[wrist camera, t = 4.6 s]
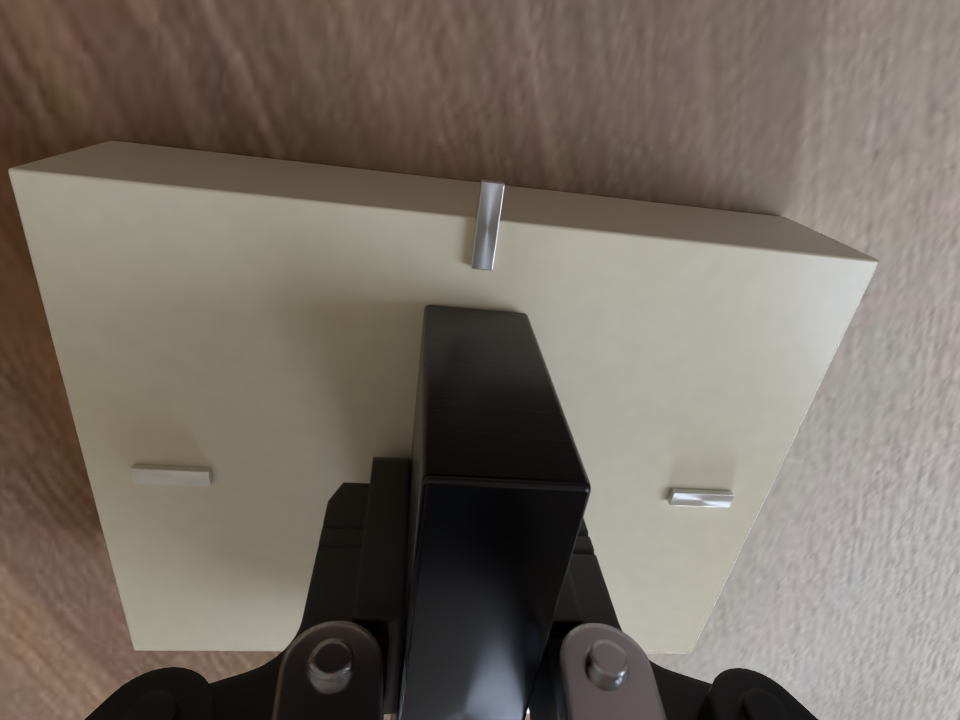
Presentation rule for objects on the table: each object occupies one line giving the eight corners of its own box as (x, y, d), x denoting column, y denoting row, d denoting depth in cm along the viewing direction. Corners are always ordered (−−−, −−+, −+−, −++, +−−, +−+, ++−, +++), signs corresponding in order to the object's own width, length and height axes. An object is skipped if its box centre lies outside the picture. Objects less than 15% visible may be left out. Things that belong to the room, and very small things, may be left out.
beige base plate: (796, 189, 12) (904, 229, 9) (647, 578, 18) (687, 673, 15) (103, 105, 10) (-15, 124, 8) (185, 567, 16) (134, 673, 13)
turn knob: (424, 302, 9) (421, 495, 5) (528, 310, 10) (601, 504, 6) (396, 614, 13) (381, 872, 9) (472, 615, 13) (490, 866, 9)
